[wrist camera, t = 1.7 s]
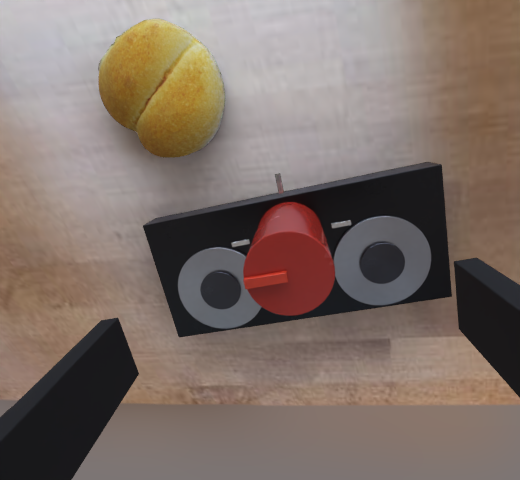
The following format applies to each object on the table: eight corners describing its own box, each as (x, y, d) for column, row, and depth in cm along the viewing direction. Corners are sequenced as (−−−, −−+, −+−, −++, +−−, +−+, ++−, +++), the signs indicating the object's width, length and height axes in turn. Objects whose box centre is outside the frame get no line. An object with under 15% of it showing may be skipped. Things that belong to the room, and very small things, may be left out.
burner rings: (425, 206, 24) (428, 208, 23) (433, 295, 26) (436, 299, 25) (168, 255, 27) (165, 257, 26) (192, 332, 29) (190, 336, 28)
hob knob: (316, 195, 24) (327, 224, 16) (327, 258, 26) (342, 311, 18) (251, 209, 25) (232, 241, 17) (265, 268, 26) (253, 325, 18)
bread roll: (181, 176, 27) (163, 182, 24) (95, 92, 26) (61, 84, 22) (253, 97, 25) (246, 89, 21) (162, 1, 24) (137, -25, 20)
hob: (425, 138, 25) (441, 138, 22) (438, 283, 28) (453, 297, 26) (148, 198, 28) (134, 204, 26) (187, 322, 31) (178, 338, 29)
